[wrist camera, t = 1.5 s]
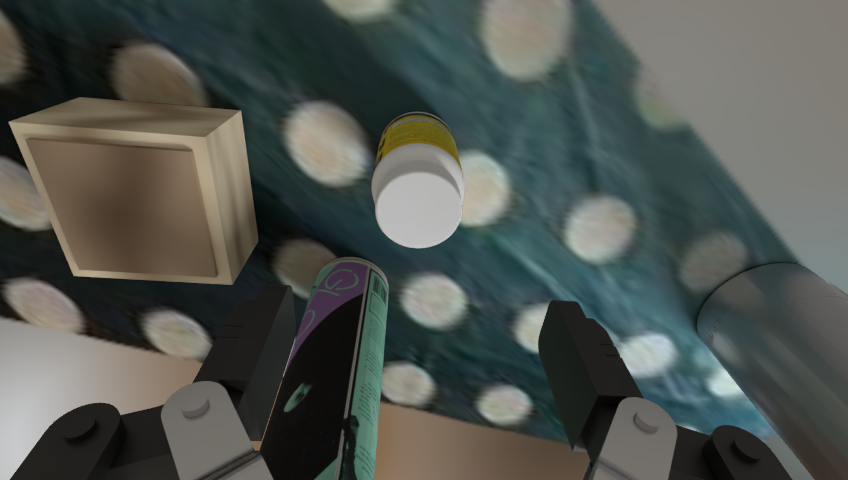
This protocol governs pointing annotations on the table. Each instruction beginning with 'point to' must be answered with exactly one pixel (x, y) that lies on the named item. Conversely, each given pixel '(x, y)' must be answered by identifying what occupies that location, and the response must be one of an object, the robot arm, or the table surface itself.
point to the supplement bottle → (418, 181)
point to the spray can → (332, 380)
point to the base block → (143, 188)
